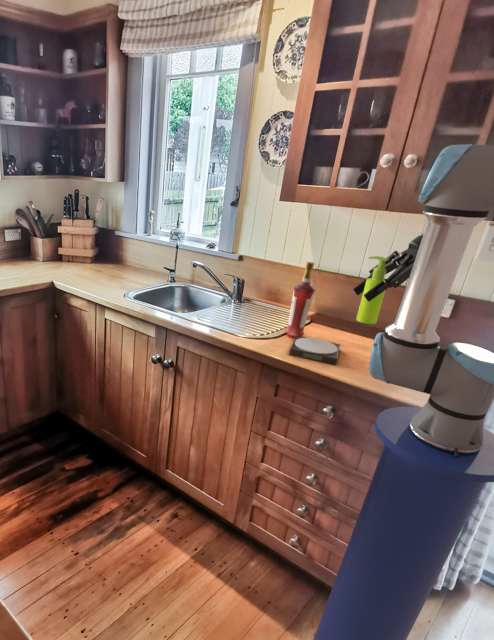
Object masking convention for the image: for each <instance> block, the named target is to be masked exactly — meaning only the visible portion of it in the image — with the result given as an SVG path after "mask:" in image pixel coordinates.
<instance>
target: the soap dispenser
mask: <svg viewBox="0 0 494 640" xmlns="http://www.w3.org/2000/svg"><path fill="white" fill-rule="evenodd" d="M368 259H369V260H378V264H377V265H378V267H376V268H374V267H373V268H374V271H373V275H372V278H368V279H367V280H366V284H365V287H364V291H363V292H362V296H361V300H360V303H359V307H358V311H357V314H356V318H355V321H357V322H359V323H362V324H367V325H375V324H377V321H378V319H379V315H380V312H381V308H382V305H383V301H384V297H385V294H386V290H385V291H384V292H382V293H381V294H379V295H378V296H376V297H375V298H374V299H372V300H371V301H369V302H368V301H367V299H366V298H365V296H364V294H365V293H367V292H368V291H369V290H371V289H372V288H373V287H375V286H376V285H377V284H379V283H380V282H381V281H384V279H385V277H386V275H387V274H386V269H385V268H384V266H385V262H386V261H389V259H388V258H387V257H384V256H377V255H375V256H368ZM385 274H386V275H385ZM384 282H385V281H384Z"/></svg>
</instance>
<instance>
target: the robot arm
mask: <svg viewBox="0 0 494 640" xmlns="http://www.w3.org/2000/svg"><path fill="white" fill-rule="evenodd" d="M436 157H437V158H436V159H435V161H434V163H433V165H432V167H431V169H430V171H429V173H428V175H427V177H426V180H425V182H424V184H423V187H422V189H421V192H420V194H419V197H418V202H419V204H424V206H423V210H422V214H423V215H424V217H425V218H426V220H427V223H426V225H425V229H424V231H423V232H421V233H420V235H417V236H416V237H414V238H413V239H412V240H411V241H410V242H409V243H408V247H407V249H405V250H403V251H401V252H399V251H398V250H394V251H393V252H392V253H391V254H390V255H389V256H387V257H386V258H388V259H389V261H386V262H385V266H384V268H385V269H386V274H385V276H386V275H388V274H389V273H391V272H392V273H391V274H390V275H389V276H388V277H387V278H384V281H385V282H384V281H381V282H380V283H379V284H377V285H376V286H375V287H373V288H372V289H371V290H369V291H368V292H367V293H365V294H364V296H365V298H366V299H367V301H368V302H369V301H371V300H372V299H374V298H375V297H376V296H378V295H379V294H381V293H382V292H384V291H385V292H386V291H387V290H388V289H390V288H394V289H397V288H399V286H401V285H403V284H404V283H405V282H406V281H407V283H406V287H405V290H404V293H403V295H402V299H401V301H400V305H399V308H398V310H397V314H396V317H395V320H394V322H393V323H391V324H388V325H387V326H386V327H385V328H384V331H382V332H378V333H377V334H376V336H375V337H374V341H373V343H372V344H373V345H372V347H371V351H370V357H369V367H368V370H369V374H370V376H371V377H372V379H375V380H378V381H381V382H385V383H386V384H389V385H394V386H398V387H401V388H405V389H408V390H412V391H416V392H420V393H423V394H427V395H429V397H428V399H427V401H426V403H425V404H424V405H423V406H422V407H420V408H421V409H420V411H419V412H418V413H417V414H416V415H415V416H414V417H413V418H412V420H411V422H410V424H409V431H410V433H411V434H412V435H413V436H414V437H415V438H416V439H418V440H419V441H421V442H422V443H424V444H426V445H428V446H430V447H432V448H434V449H437V450H440V451H443V452H446V453H450V454H455V457H459V455H474V454H477V453H478V452H479V451H480V449H481V447H482V444H483V428H484V421H485V418H486V416H487V413H488V411H489V409H490V407H491V404H492V403H493V400H494V352H492V351H489V350H487V349H484V348H482V347H480V346H477V345H474V344H469V343H467V342H452V343H450V344H449V345H448V346H447V347H445V346H440V345H439V344H440V341H441V338H440V336H439V335H438V334H437V331H436V330H437V328H438V325H439V322H440V319H441V317H442V315H443V311H444V308H445V306H446V303H447V301H448V297H449V296H450V292H451V290H452V287H453V284H454V282H455V280H456V277H457V275H458V271H459V268H460V266H461V263H462V261H463V258H464V256H465V252H466V250H467V248H468V245H469V241H470V239H471V236H472V233H473V231H474V229H475V227H476V226H478V225H479V224H480V223H482V222H483V221H487V222H488V221H489V222H494V145H489V144H488V145H487V144H473V143H469V144H468V143H465V144H451V145H448V146H446V147H444V148H443V149H442V150H441V151H440V153H439V154H438V156H436ZM376 267H378V264H376V265H375V266H374V267H372V268H371V269H369V270H368V273H369V276H367V277H366V278H364V279H363V280H362V281H361V282H360V283H359V284H357V285H356V286H354V287H353V288H352V290H353V292H354V293H355V295H356V296H360V295H361V294H363V291H364V287H365V284H366V280H367V279H368V278H372V275H373V271H374V268H376Z"/></svg>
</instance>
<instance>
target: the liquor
mask: <svg viewBox="0 0 494 640" xmlns="http://www.w3.org/2000/svg"><path fill="white" fill-rule="evenodd" d="M314 267H315V262H314V261H306V263H305V268H304V269H305V270H304V274H303V277H302V280H301V282H299V283H297V284H295V285H294V286H293V292H292V297H291V304H290V309H289V316H288V323H287V326H286V329H285V331H284V332H285V333H286V335H287V336H288V337H290V338H292V339H293V338H294V339H296V337H297V336H302V337H303V336H304V335H305V332H304V330H305V327H306V323H307V319H308V315H309V313H310V310H311V305H312V303H313V300H314V295H315V292H316V287H315V286H314V285H312V284H311V281H312V272H313V269H314Z"/></svg>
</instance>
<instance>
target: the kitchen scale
mask: <svg viewBox="0 0 494 640" xmlns="http://www.w3.org/2000/svg"><path fill="white" fill-rule="evenodd" d="M340 347H341V343H335V342H331V341H327V340H325V339H320V338H314V337H307V336H303V335H302V336H297V337H296V338H294V341H293V342H292V345H291V347H290V349H289V353H288V355H289V356H292V357H293V356H294V357H298V358H303V359H308V360H312V361H315V362H316V361H318V362H321V363H324V364H325V363H326V364H331V365H336V363H337V361H338V356H339V353H340Z"/></svg>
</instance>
